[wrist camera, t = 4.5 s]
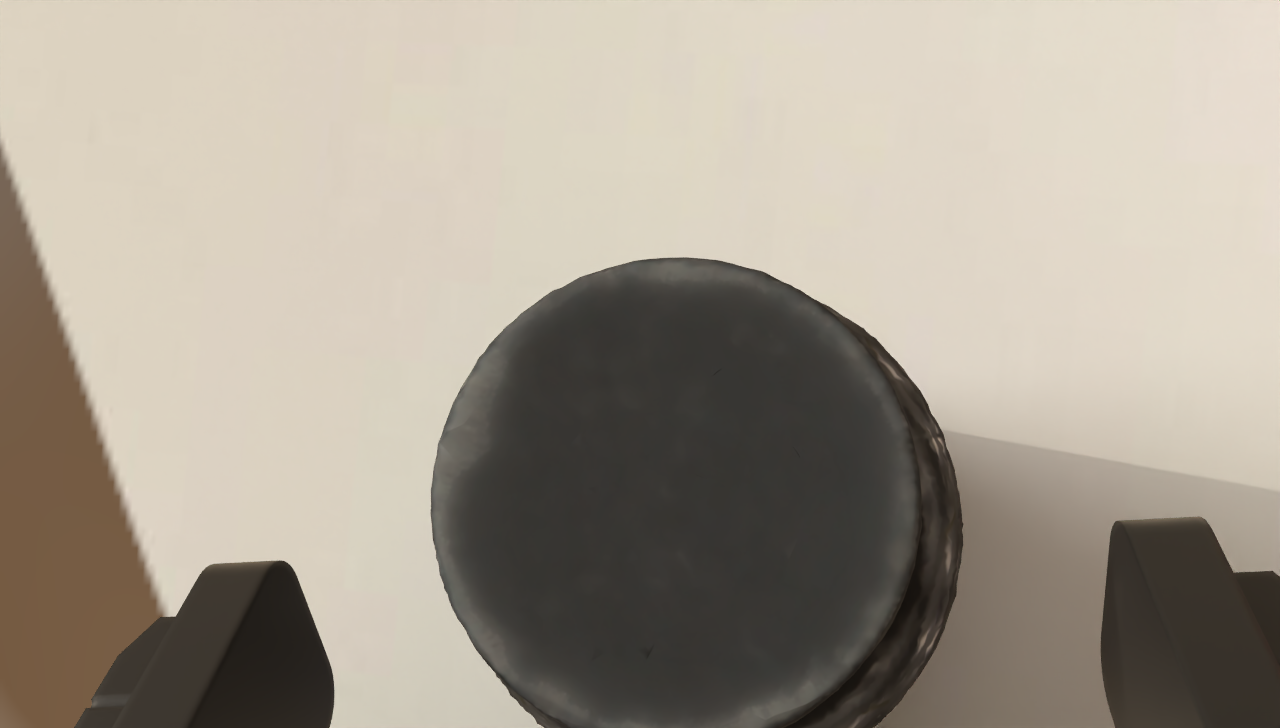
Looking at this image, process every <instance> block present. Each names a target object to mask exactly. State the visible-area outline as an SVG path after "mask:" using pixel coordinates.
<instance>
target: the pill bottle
mask: <svg viewBox="0 0 1280 728" xmlns="http://www.w3.org/2000/svg"><path fill="white" fill-rule="evenodd" d="M431 520H432V531H433V541H434V545H435V549H436V559H437V561H438V563H439V571H440V576H441V578H442V581H443V583H444V589H445V591H446V592H447V594H448V597H449V601H450V603H451V606H452V608H453V610H454V612H455V614H456V616H457V618H458V620H459V621H460V622H461V624H462V625H463V627H464V628H465V630H466V631H467V634H468V636H469V638H470V640H471V642H472V643H473V645H474V647H475V648H476V650H477V651H478V652H479V654H480V655H481V656H482V658H483V659H484V660H485V662H486V663H487V664H488V665H489V666H490V667H491V668H492V670H493V671H494V672H495V673H496V676H497V677H498V678H499V679H500V680H501V681H502V683H503V684H504V685H505V686H506V687H507V689H508V691H509V693H510V695H511V696H512V697H513V698H514V699H516V700H517V701H518V703H519V704H520V705H521V706H522V707H523V708H524V709H525V711H527V712H528V713H530V714H531V715H532V716H533V717H534V718H535V720H536V722H537V724H540V725H541V726H543V727H544V728H873V727H874V726H876V725H877V724H878V723H879V722H881V721H882V719H883V718H884V717H886V715H887V714H888V713H889V712H891V711H892V709H893V708H894V707H895V706H896V705H897V704H898V703H899V702H900V701H901V700H902V698H903V697H904V695H905V694H906V692H907V690H908V689H909V688H910V687H911V686H912V685H913V684H914V682H915V681H916V679H917V678H918V676H919V675H920V674H921V672H922V670H923V669H924V667H925V666H926V664H927V662H928V660H929V659H930V658H931V656H932V654H933V652H934V650H935V649H936V647H937V645H938V642H939V640H940V637H941V635H942V633H943V631H944V629H945V624H946V622H947V619H948V616H949V613H950V610H951V607H952V604H953V602H954V599H955V597H956V588H957V579H958V572H959V568H960V563H961V553H962V547H963V534H962V527H963V523H962V513H961V504H960V495H959V491H958V489H957V480H956V476H955V470H954V467H953V464H952V460H951V457H950V455H949V452H948V450H947V448H946V444H945V439H944V435H943V433H942V431H941V429H940V427H939V425H938V423H937V421H936V420H935V418H934V417H933V416H932V414H931V412H930V409H929V406H928V404H927V402H926V400H925V398H924V397H923V395H922V393H921V391H920V390H919V388H918V387H917V386H916V385H915V384H914V383H913V382H912V380H911V379H910V378H909V377H908V375H907V374H906V372H905V371H904V369H903V368H902V367H901V366H900V364H899V363H898V362H897V361H896V360H895V359H894V358H893V357H892V356H891V355H890V354H889V353H888V352H887V351H886V350H885V349H884V347H883V346H882V345H881V344H880V343H879V342H878V341H877V339H876V338H874V337H872V336H871V335H870V334H868V333H867V332H866V331H865V329H864V328H861V327H860V326H858V325H857V324H855V323H854V322H852V321H851V320H849V319H847V318H845V317H843V316H842V315H840V314H839V313H838V312H836V311H835V310H833V309H832V308H830V307H829V306H827V305H824V304H822V303H820V302H819V301H817V300H814V299H813V298H811V297H809V296H808V295H806V294H805V293H804V292H802V291H801V290H798V289H796V288H794V287H793V286H791V285H789V284H786V283H784V282H781V281H780V280H778V279H776V278H774V277H772V276H770V275H768V274H767V273H765V272H762V271H758V270H754V269H749V268H745V267H742V266H738V265H735V264H731V263H727V262H723V261H718V260H709V259H698V258H659V259H647V260H638V261H633V262H629V263H626V264H622V265H618V266H614V267H611V268H607V269H604V270H601V271H598V272H595V273H592V274H589V275H586V276H583V277H580V278H578V279H576V280H574V281H573V282H571V283H569V284H567V285H566V286H564V287H562V288H560V289H557V290H554V291H552V292H550V293H549V294H548V295H546V296H545V297H543V298H542V299H541V300H539V301H538V302H537V303H535V304H534V305H533V306H531V307H530V308H528V309H527V310H526V311H524V312H523V313H521V314H520V315H519V316H518V317H517V318H516V319H515V320H514V321H513V322H512V323H511V324H509V325H508V326H507V327H506V328H505V329H504V330H503V331H502V332H501V333H500V334H499V335H498V336H497V337H496V338H495V339H494V340H493V341H492V343H491V344H490V345H489V346H488V348H487V349H486V351H485V352H484V353H483V354H482V355H481V356H480V357H479V359H478V361H477V363H476V364H475V366H474V368H473V370H472V371H471V373H470V375H469V376H468V378H467V379H466V381H465V382H464V384H463V386H462V387H461V389H460V391H459V393H458V395H457V397H456V399H455V401H454V402H453V405H452V408H451V410H450V413H449V416H448V418H447V421H446V424H445V426H444V429H443V433H442V436H441V438H440V441H439V443H438V450H437V457H436V461H435V465H434V471H433V481H432V487H431Z"/></svg>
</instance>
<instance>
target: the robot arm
mask: <svg viewBox="0 0 1280 728" xmlns="http://www.w3.org/2000/svg"><path fill="white" fill-rule="evenodd" d="M1101 664H1102V673H1103V681H1104V687H1105V692H1106V697H1107V701H1108V705H1109V709H1110V712H1111V715H1112V718H1113V721H1114V724H1115V728H1280V577H1279V576H1278V575H1277V574H1276V573H1274V572H1273V571H1264V572H1241V573H1233V571H1232V569H1231V567H1230V565H1229V563H1228V561H1227V559H1226V557H1225V555H1224V553H1223V551H1222V549H1221V547H1220V545H1219V543H1218V541H1217V539H1216V537H1215V535H1214V533H1213V531H1212V529H1211V527H1210V525H1209V524H1208V523H1207V521H1206V520H1205V519H1203V518H1202V517H1184V518H1164V519H1144V520H1125V521H1116V522H1115V523H1114V525H1113V527H1112V531H1111V536H1110V545H1109V556H1108V567H1107V578H1106V589H1105V600H1104V610H1103V621H1102V632H1101ZM91 700H92V706H91V708H86V709H85V711H84V712H83V714H82V716H81V717H80V719H79V721H78V722H77V724H76V726H75V727H74V728H329V727H330V724H331V719H332V714H333V707H334V681H333V674H332V669H331V666H330V662H329V660H328V657H327V655H326V652H325V649H324V647H323V644H322V641H321V639H320V636H319V633H318V631H317V628H316V626H315V623H314V620H313V618H312V615H311V612H310V610H309V607H308V605H307V602H306V599H305V597H304V594H303V591H302V589H301V586H300V583H299V581H298V578H297V576H296V574H295V571H294V570H293V568H292V567H291V566H290V565H289V564H288V563H287V562H285V561H262V562H242V563H223V564H212V565H210V566H208V567H206V568H205V569H204V570H203V571H202V573H201V574H200V576H199V577H198V579H197V581H196V582H195V584H194V586H193V587H192V589H191V591H190V593H189V594H188V596H187V598H186V600H185V601H184V603H183V605H182V607H181V608H180V610H179V612H178V614H177V615H176V617H160V618H159V619H158V620H156V622H154V623H153V624H152V625H151V626H150V627H149V628H148V629H147V630H146V631H144V632H143V633H142V634H141V635H140V636H139V637H138V638H137V639H136V640H135V641H134V642H133V643H131V644H130V645H129V646H128V647H127V648H126V649H125V650H124V651H123V652H122V653H121V654H119V655H118V657H117V658H116V660H115V661H114V663H113V665H112V666H111V668H110V670H109V671H108V673H107V675H106V676H105V678H104V680H103V681H102V683H101V684H100V686H99V688H98V689H97V691H96V693H95V695H94V696H93V698H92V699H91Z"/></svg>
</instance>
